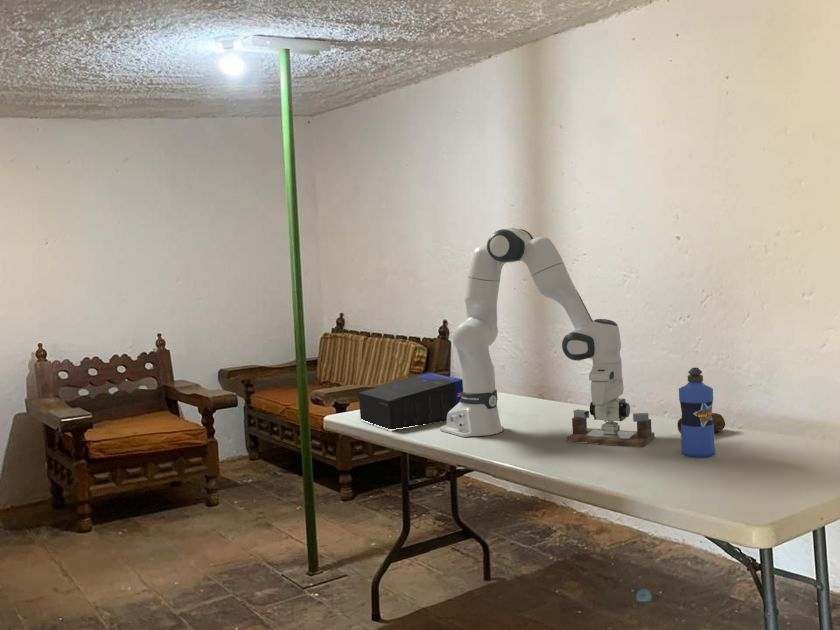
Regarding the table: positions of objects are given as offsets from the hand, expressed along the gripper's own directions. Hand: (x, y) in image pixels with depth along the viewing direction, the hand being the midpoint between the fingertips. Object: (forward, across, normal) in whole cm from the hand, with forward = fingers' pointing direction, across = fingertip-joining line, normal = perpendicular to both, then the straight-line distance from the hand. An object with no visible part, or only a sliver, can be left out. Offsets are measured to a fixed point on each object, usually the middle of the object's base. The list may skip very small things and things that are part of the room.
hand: (609, 414), depth 258 cm
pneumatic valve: (+6, 0, 0) cm, 7 cm away
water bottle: (+8, +9, +29) cm, 31 cm away
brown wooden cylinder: (+8, -14, +25) cm, 30 cm away
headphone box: (+9, -11, -79) cm, 80 cm away
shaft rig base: (+8, 0, 0) cm, 8 cm away
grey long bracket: (+7, 0, 0) cm, 7 cm away
